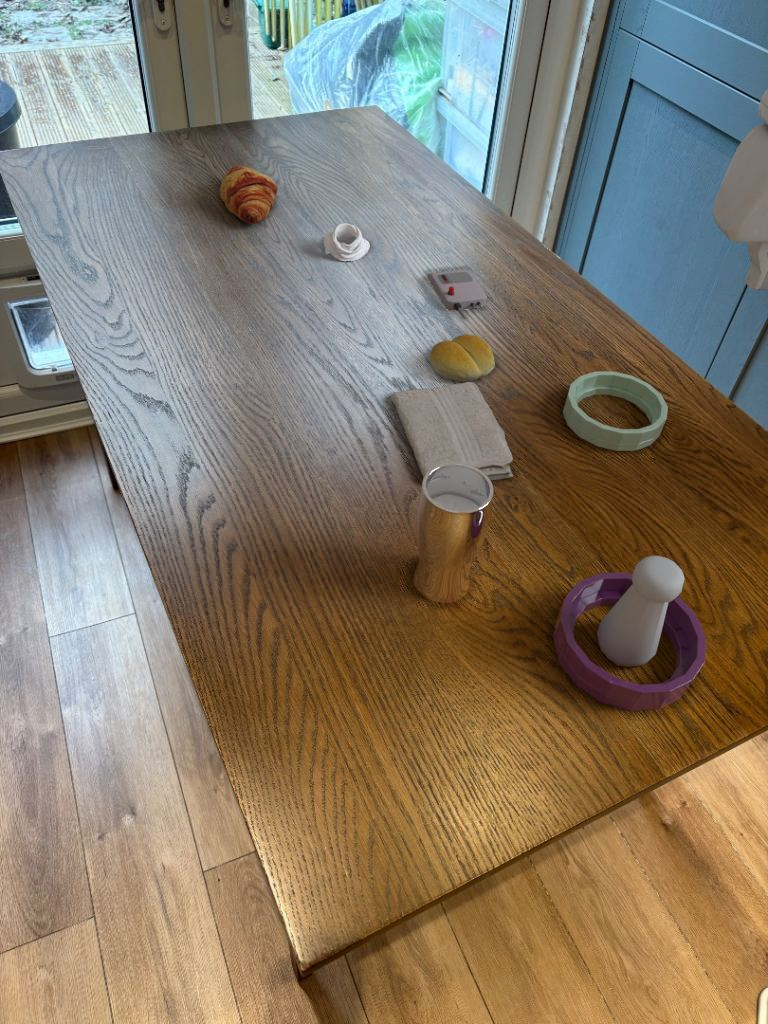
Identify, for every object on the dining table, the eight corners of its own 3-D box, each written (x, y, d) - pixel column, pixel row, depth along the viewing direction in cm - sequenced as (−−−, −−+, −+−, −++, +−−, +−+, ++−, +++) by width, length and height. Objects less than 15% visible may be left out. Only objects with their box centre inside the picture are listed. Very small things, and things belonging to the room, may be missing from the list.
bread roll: (418, 359, 107) (421, 335, 104) (470, 344, 110) (474, 320, 107) (450, 392, 102) (453, 367, 99) (503, 374, 106) (508, 351, 103)
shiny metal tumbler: (420, 553, 82) (434, 452, 71) (480, 573, 81) (504, 473, 70) (398, 600, 78) (409, 500, 67) (461, 622, 76) (484, 523, 65)
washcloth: (425, 497, 88) (427, 479, 86) (386, 403, 100) (387, 384, 98) (518, 483, 91) (523, 464, 89) (469, 392, 102) (473, 374, 100)
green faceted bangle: (640, 394, 104) (649, 371, 101) (670, 456, 96) (681, 432, 93) (552, 395, 103) (558, 371, 100) (574, 457, 95) (582, 433, 92)
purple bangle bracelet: (662, 596, 80) (677, 570, 77) (709, 713, 71) (728, 688, 68) (538, 600, 79) (547, 574, 76) (570, 719, 70) (582, 694, 66)
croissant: (229, 198, 146) (205, 162, 140) (273, 171, 144) (251, 133, 138) (242, 249, 131) (215, 211, 126) (291, 220, 130) (267, 180, 124)
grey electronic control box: (460, 268, 125) (463, 252, 123) (495, 320, 115) (498, 303, 113) (423, 272, 124) (424, 255, 122) (455, 325, 114) (457, 307, 112)
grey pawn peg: (656, 677, 73) (705, 598, 63) (598, 676, 73) (638, 596, 63) (641, 627, 77) (685, 545, 67) (586, 626, 77) (623, 543, 67)
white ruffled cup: (364, 246, 130) (366, 218, 127) (374, 262, 126) (376, 233, 122) (319, 247, 128) (320, 218, 125) (327, 263, 124) (329, 233, 120)
